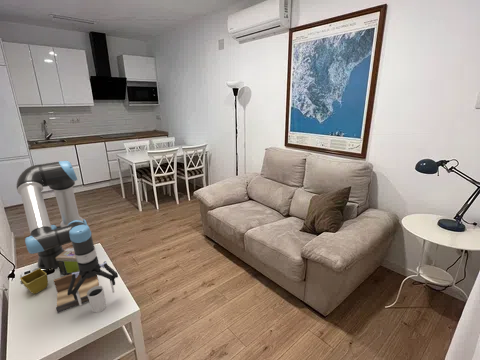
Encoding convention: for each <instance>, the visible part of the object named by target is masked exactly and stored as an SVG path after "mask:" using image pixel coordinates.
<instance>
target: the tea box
mask: <svg viewBox="0 0 480 360" xmlns="http://www.w3.org/2000/svg"><path fill="white" fill-rule="evenodd" d="M64 250H65V251H64V252H62V253H61V254H60V255H58V256H57V257H56V261H57V264H58V268H57V269H58V270H59V274H60V276H61V277H63V276H66V275H69V274H72V272H79V271H80V270H79V267H78V262H77V260H76V256H75V252H74V249H73V247H67V248H66V249H64Z"/></svg>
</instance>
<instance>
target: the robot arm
mask: <svg viewBox="0 0 480 360" xmlns="http://www.w3.org/2000/svg"><path fill="white" fill-rule="evenodd" d="M77 181H78V176H77V175H76V172H75V170H74V168H73V165H72V163H71V162H70V161H68V160H61V161H60V160H58V161H54V162H47V163H41V164H34V165H31V166H29V167H27V168H25V169H24V170H23V171H22V172H21V174H20V175H19V177H18V178H17V182H16V191H17V193H18V195H20V196H21V198H22V199H21V200H22V204H23V208H24V213H25V216H26V217H25V218H26V220H27V221H26V222H27V225H28V229H29V233H30V235H29V236H27V237H25V238H24V242H25V246H26V250H27V252H28V253H29V254H30V255H32V254H33V255H34V254H37V255H38V259H37V269H39V268H40V269H50V268H53V269H54V270H57V269H59V268H58V264H57V261H56V257H57V256H58V255H60V254H61V253H62V252H64V251H65V250H66V249H64V248H63V246H64V245H67V244H70V243H71V245H72V248H73V249H74V252H75V256H76V260H77V262H78V267H79V270H80V271H79V272H76V273H75V272H72V279H71V282H70V285H69V288H68V293H67V295H70V294H73V296H74V299H75V300H76V299H78V302H79V305H78V306H82V305H83V304H82V303H81V298H80V295H79V291H78V289H79V288H80V286H81V285H82V283H83V282H84V281H85V279H86V278H88V279H89V278H91V277H94V276H96V275H97V276H99V277H103V278H106V280H107V279H108V280H109V282H110V286H111V292H112V293H115V289H114V286H116V280H115V279H116V278H117V279H118V278H119V276H118V272H117V271H116V270H115V269H113V268H112V267H111V266H110V265H109V264H108V263H107V261H103V263H101V264H100V263H99V260H98V256H97V251H96V248H95V244H94V240H93V236H92V231H91V228H90V226H89V225H88V224H87V220H86V219H84V218H83V217H82V216H80V214H79V210H78V205H77V201H76V195H75V191H74V186H75V185H76V182H77ZM44 187H49V189H50V190H52V191H54V195H55V199H56V203H57V206H58V210H59V214H60V217H61V221H60V225H59V226H57V225H55V224H51V221H50V218H49V214H48V210H47V207H46V204H45V200H44V197H43V190H44ZM102 268H103V269H105V270H106V271H107V272H106V271H104V270H102ZM78 275H81V278H80V280H79V281H78V283H77V284H76V286H75V287H74V289H73V286H74V283H75V280H76V278H77V277H78ZM72 289H73V290H72Z"/></svg>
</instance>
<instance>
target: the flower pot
mask: <svg viewBox="0 0 480 360" xmlns="http://www.w3.org/2000/svg"><path fill="white" fill-rule="evenodd" d="M19 279H20V281H21V283H22V284H23V286H24V287H25V288H26V289H27V290H28V291H29V292H30V293H32V294H33V295H37V294H38V293H40V292H42V291H44V290H45V289H47V287H48V285H49V280H48V279H49V278H48V274H47V272H46V271H43V270H41V269H40V268H37V269H35V270H33V271H32V272H29V273H27V274H24V275H23V276H21V277H20V278H19Z"/></svg>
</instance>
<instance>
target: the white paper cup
mask: <svg viewBox="0 0 480 360" xmlns="http://www.w3.org/2000/svg"><path fill="white" fill-rule="evenodd" d="M87 296H88V299H89V301H88V302H89V305H90V307H91V310H92V312H93V313H96V314H97V313H101V312H102V311H104V310H106V308H107V301H106V297H105V291H104V287H103V286H102V285H99V286H95V287H93V288H91V289H90V290H89V291H88V292H87Z"/></svg>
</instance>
